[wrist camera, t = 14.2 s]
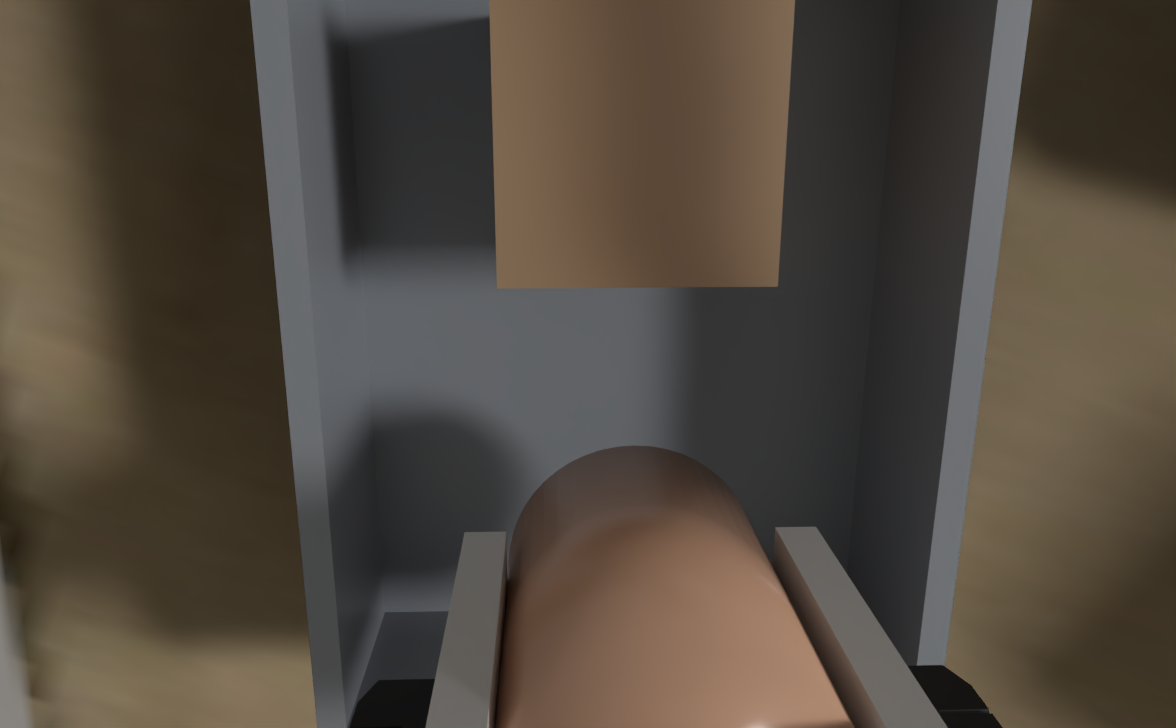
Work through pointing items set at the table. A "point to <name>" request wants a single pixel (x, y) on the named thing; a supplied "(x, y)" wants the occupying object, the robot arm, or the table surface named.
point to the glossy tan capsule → (651, 607)
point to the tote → (626, 316)
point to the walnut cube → (639, 141)
